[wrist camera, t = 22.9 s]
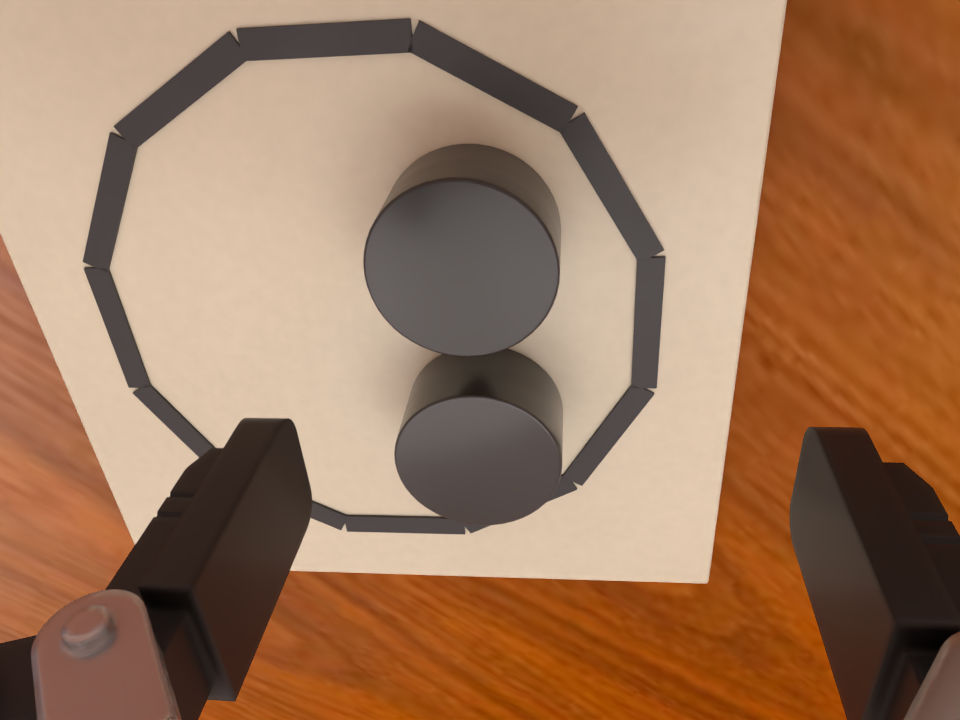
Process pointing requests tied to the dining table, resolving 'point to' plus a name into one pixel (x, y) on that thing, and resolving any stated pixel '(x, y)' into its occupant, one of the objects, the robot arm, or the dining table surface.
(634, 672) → the dining table surface
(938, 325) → the dining table surface
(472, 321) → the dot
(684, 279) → the board
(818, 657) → the dining table surface
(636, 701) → the dining table surface
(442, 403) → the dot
